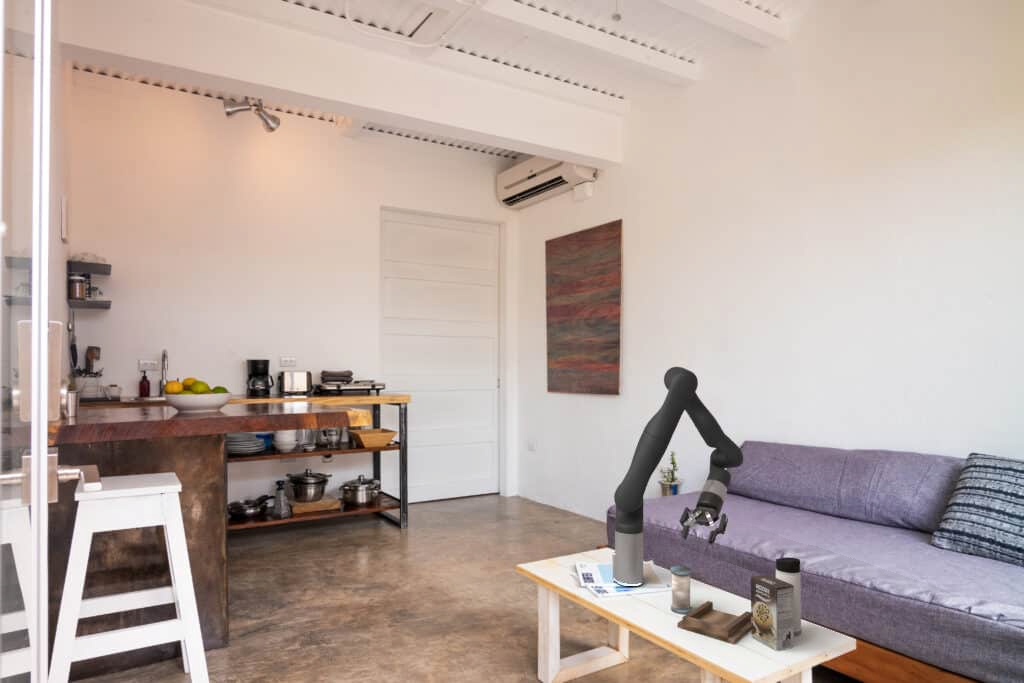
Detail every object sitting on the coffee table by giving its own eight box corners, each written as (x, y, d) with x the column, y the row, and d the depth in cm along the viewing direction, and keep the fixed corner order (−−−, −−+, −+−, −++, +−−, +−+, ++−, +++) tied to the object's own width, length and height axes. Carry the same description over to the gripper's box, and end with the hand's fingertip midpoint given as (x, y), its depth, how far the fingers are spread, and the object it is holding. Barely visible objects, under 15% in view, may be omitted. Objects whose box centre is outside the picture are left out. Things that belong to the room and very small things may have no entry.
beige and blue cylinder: (667, 610, 189) (666, 569, 189) (676, 604, 193) (676, 564, 194) (685, 615, 185) (685, 573, 185) (695, 609, 189) (695, 569, 190)
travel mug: (791, 638, 170) (790, 562, 170) (771, 629, 176) (770, 555, 176) (807, 633, 173) (806, 559, 173) (787, 624, 179) (786, 552, 179)
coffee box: (750, 637, 170) (749, 576, 171) (768, 633, 173) (767, 573, 173) (776, 651, 162) (775, 587, 162) (795, 647, 164) (794, 584, 165)
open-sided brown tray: (677, 627, 177) (677, 615, 177) (703, 610, 189) (703, 599, 189) (733, 644, 166) (733, 631, 166) (757, 625, 178) (757, 614, 178)
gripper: (687, 487, 209) (671, 529, 200) (730, 493, 200) (714, 537, 191) (695, 501, 213) (679, 543, 204) (737, 507, 203) (722, 551, 194)
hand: (696, 540), depth 197 cm, fingers open, 8 cm apart
